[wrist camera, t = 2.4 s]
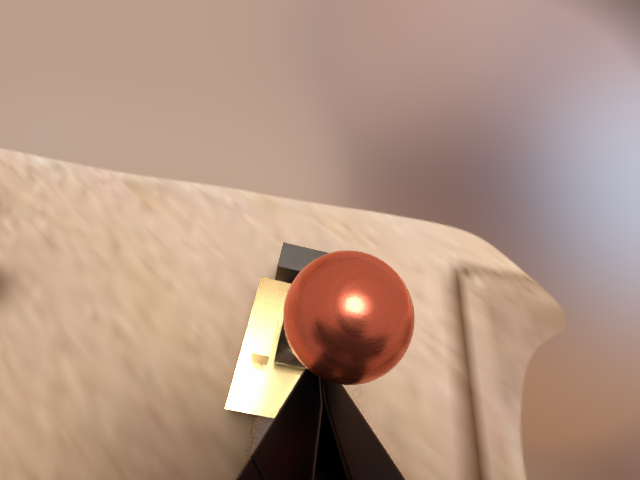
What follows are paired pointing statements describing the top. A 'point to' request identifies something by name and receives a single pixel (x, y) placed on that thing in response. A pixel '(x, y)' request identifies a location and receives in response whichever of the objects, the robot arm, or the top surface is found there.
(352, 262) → the valve lever
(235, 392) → the valve pipe
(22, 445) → the top surface
